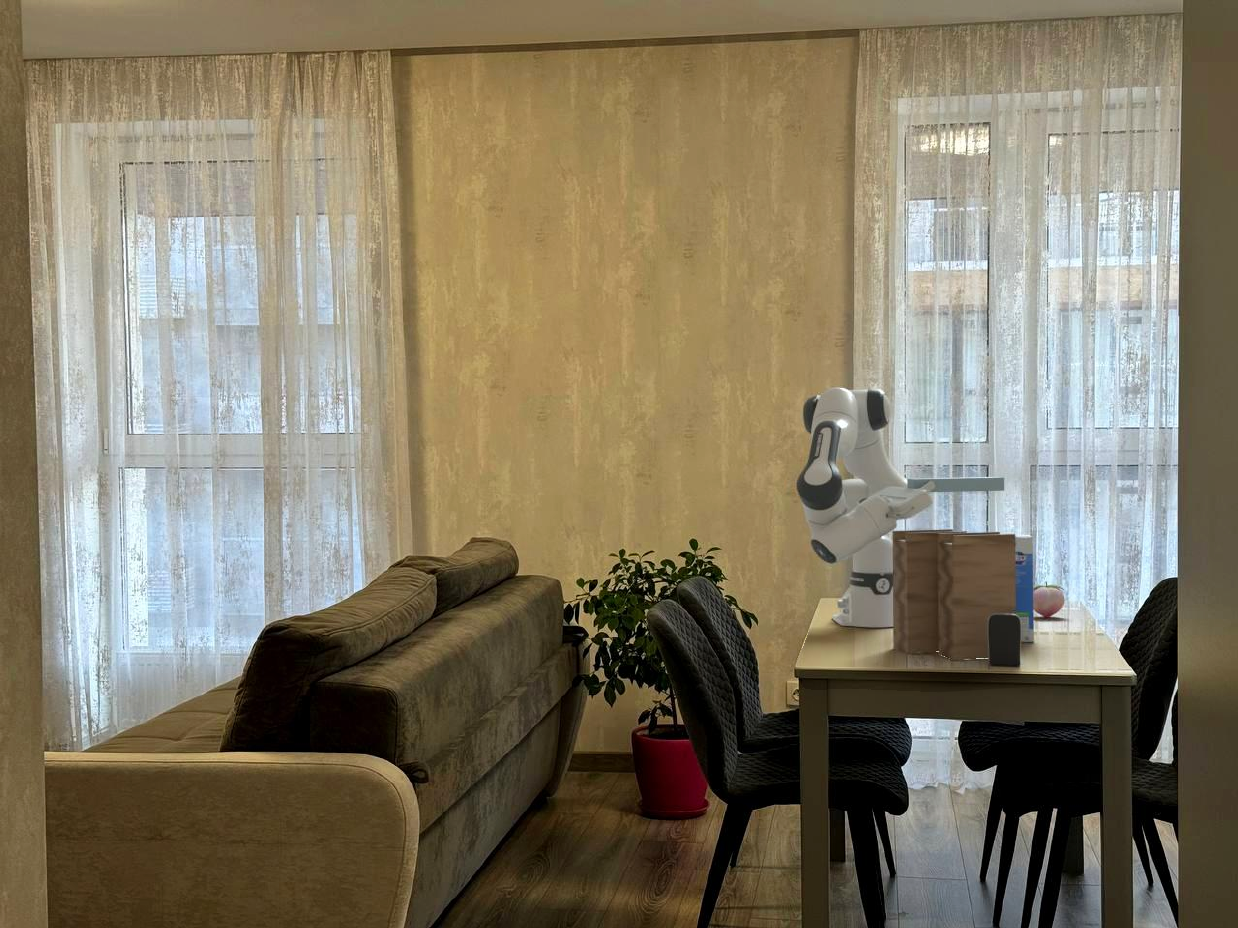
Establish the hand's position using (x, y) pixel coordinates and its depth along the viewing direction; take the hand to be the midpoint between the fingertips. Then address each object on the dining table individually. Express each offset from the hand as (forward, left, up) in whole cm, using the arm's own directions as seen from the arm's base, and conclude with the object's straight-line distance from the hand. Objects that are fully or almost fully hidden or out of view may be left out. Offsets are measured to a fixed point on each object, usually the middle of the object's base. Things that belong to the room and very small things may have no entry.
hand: (928, 483), depth 287 cm
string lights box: (-20, +29, -40) cm, 53 cm away
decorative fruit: (-52, +59, -40) cm, 88 cm away
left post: (-12, +6, -40) cm, 42 cm away
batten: (0, +7, -2) cm, 7 cm away
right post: (0, +12, -40) cm, 41 cm away
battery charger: (+11, +12, -40) cm, 43 cm away
